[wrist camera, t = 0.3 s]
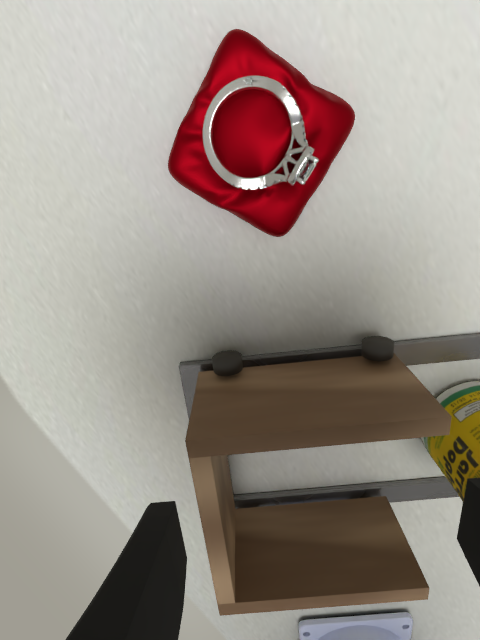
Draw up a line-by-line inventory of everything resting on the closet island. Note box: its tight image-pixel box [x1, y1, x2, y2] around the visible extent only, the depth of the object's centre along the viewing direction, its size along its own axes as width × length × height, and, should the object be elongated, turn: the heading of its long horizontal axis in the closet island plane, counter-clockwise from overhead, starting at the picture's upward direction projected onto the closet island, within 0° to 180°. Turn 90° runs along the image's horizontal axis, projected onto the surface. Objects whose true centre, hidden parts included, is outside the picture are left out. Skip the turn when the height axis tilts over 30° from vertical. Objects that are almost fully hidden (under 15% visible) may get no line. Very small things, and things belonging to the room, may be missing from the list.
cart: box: [185, 336, 452, 615], centre depth 17 cm, size 12×10×5 cm
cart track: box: [179, 333, 480, 509], centre depth 20 cm, size 10×22×1 cm, turn 96°
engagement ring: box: [168, 29, 355, 237], centre depth 14 cm, size 6×6×3 cm
